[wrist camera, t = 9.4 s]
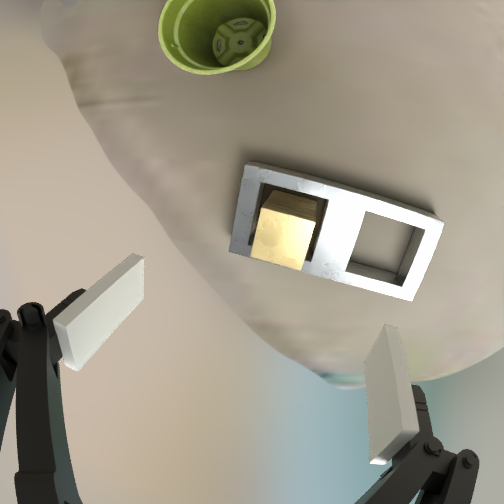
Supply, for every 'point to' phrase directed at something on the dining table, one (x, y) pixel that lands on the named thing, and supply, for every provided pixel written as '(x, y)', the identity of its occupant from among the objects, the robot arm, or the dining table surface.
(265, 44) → the plant pot
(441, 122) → the dining table surface
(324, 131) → the dining table surface
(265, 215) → the yellow rectangular block
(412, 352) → the dining table surface
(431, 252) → the grey double window frame
